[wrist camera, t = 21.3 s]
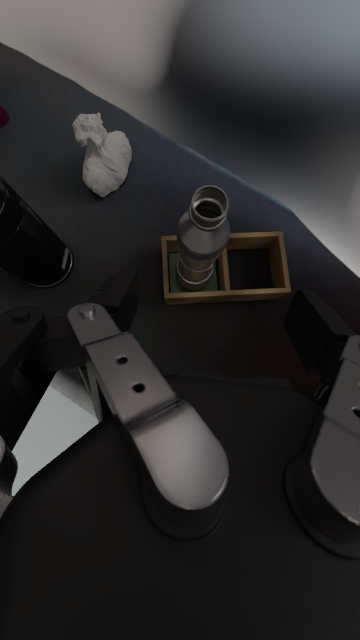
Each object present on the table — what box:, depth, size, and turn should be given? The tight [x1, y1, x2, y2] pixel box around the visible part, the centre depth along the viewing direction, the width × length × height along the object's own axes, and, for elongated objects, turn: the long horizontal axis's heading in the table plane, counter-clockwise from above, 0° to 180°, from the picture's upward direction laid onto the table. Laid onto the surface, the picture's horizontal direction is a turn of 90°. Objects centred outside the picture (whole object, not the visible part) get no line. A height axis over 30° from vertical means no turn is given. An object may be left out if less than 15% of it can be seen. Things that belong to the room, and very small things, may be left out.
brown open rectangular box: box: [161, 232, 291, 305], centre depth 40 cm, size 20×11×4 cm, turn 93°
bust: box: [72, 113, 132, 197], centre depth 40 cm, size 12×8×11 cm
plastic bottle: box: [175, 185, 230, 290], centre depth 32 cm, size 6×7×20 cm
